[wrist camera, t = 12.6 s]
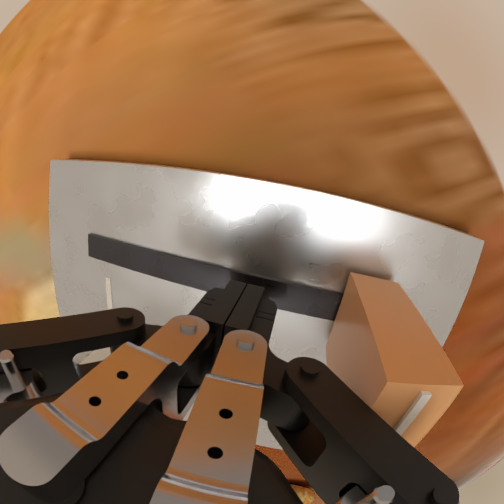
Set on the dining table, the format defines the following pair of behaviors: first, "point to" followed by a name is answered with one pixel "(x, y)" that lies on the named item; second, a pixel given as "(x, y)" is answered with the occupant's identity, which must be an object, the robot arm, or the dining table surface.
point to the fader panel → (241, 249)
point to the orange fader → (391, 357)
